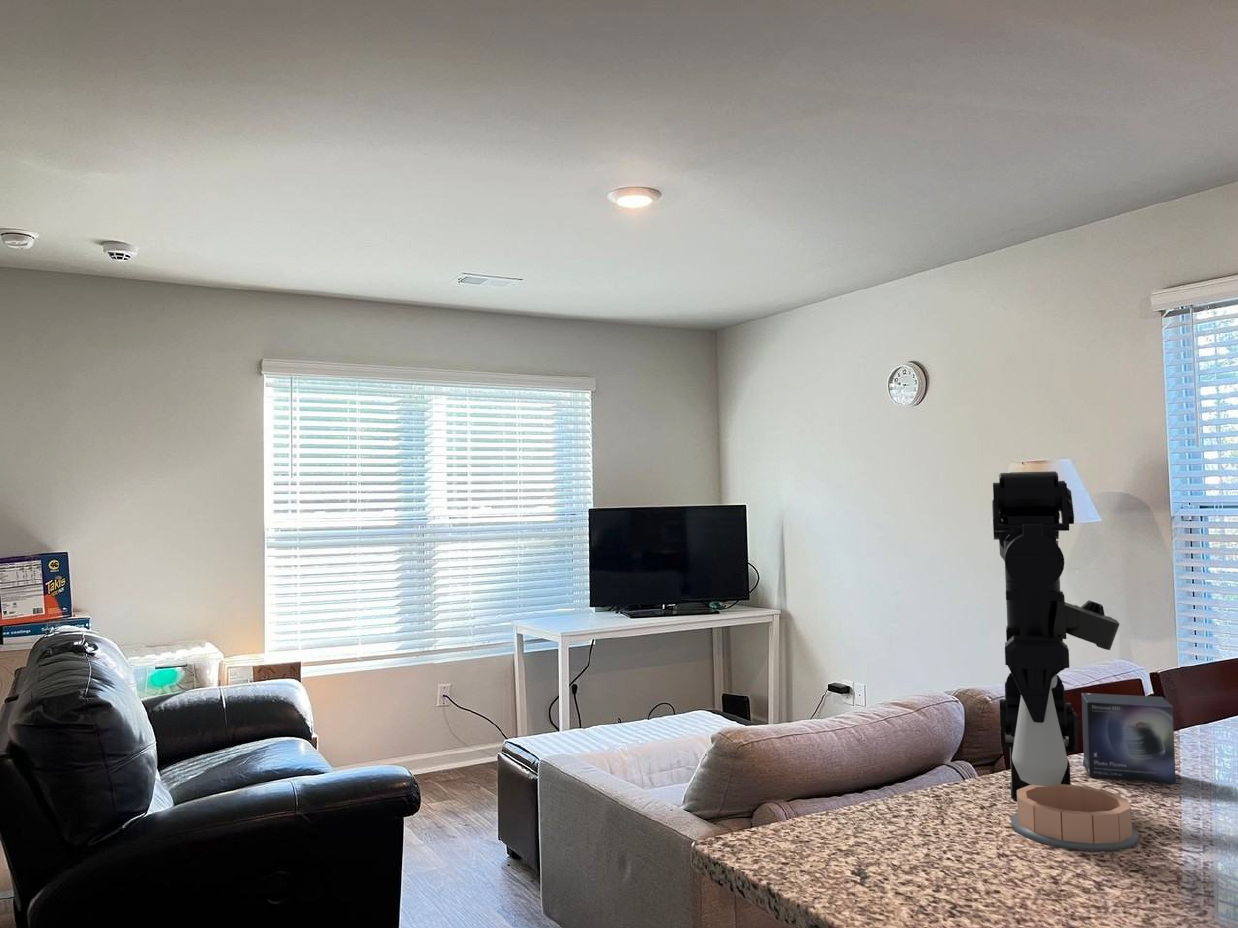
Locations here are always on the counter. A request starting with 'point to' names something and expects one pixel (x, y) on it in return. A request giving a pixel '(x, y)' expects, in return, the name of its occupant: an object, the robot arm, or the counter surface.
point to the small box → (1128, 737)
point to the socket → (1074, 818)
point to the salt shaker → (1039, 746)
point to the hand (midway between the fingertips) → (1038, 718)
